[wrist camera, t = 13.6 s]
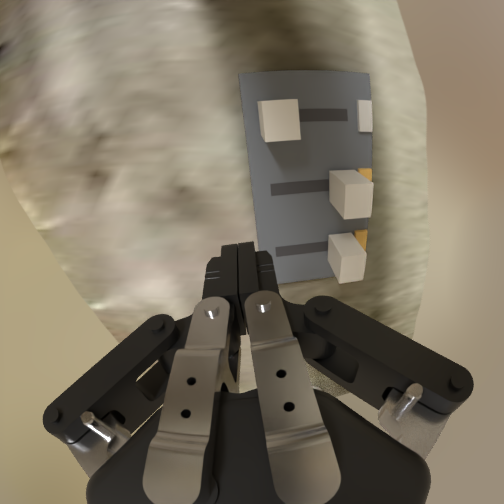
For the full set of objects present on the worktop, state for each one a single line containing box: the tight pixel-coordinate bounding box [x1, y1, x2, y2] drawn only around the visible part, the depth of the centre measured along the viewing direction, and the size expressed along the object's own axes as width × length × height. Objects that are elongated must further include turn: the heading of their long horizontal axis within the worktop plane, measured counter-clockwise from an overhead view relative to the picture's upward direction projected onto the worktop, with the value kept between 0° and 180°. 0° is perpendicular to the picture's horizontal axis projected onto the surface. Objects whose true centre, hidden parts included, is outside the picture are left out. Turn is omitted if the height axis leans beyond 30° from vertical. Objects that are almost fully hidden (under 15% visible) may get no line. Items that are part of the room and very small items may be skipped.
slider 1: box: [257, 99, 301, 142], centre depth 22 cm, size 4×3×5 cm
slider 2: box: [328, 233, 367, 284], centre depth 31 cm, size 4×3×5 cm
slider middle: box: [329, 170, 374, 220], centre depth 26 cm, size 4×3×5 cm
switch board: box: [238, 70, 372, 284], centre depth 30 cm, size 26×14×2 cm, turn 6°
